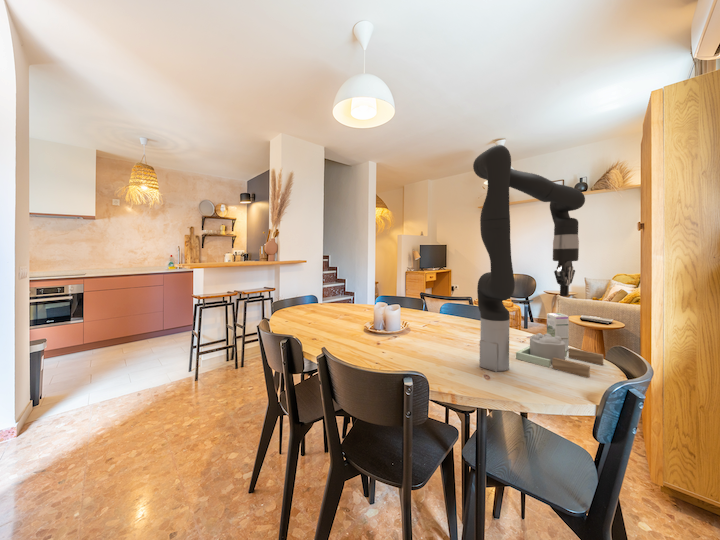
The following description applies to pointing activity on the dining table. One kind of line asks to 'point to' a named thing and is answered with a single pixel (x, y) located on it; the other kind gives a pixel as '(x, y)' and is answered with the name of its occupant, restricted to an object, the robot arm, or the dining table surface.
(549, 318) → the syrup box
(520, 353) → the green rectangular frame
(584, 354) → the chute
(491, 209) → the robot arm
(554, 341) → the lumpy-topped squat cylinder
